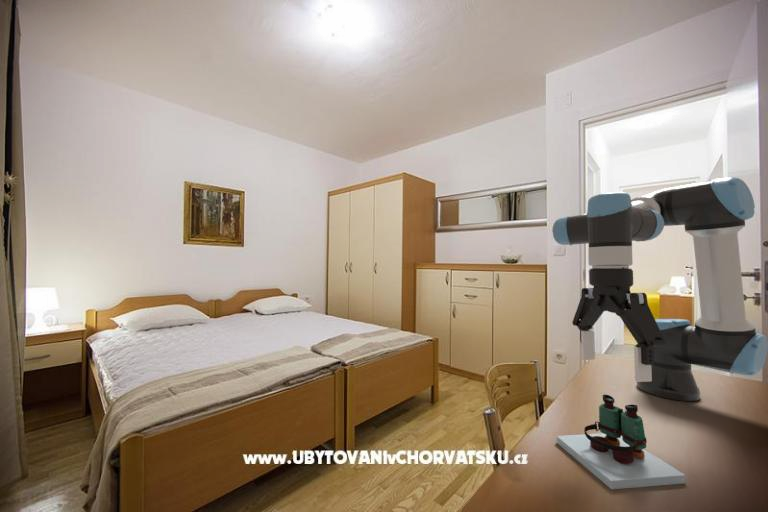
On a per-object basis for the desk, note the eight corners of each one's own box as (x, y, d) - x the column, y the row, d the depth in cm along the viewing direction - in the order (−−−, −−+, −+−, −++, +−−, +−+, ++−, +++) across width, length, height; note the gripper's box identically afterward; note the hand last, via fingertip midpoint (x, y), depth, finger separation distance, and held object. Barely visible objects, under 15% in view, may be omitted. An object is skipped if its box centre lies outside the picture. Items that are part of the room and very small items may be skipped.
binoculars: (574, 401, 67) (604, 389, 71) (579, 450, 67) (608, 436, 71) (620, 420, 59) (651, 406, 62) (625, 476, 59) (656, 458, 63)
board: (616, 438, 73) (616, 432, 73) (685, 483, 58) (685, 475, 58) (556, 442, 71) (556, 436, 71) (611, 489, 56) (611, 480, 56)
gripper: (689, 267, 54) (694, 392, 53) (582, 266, 79) (584, 351, 78) (650, 268, 53) (654, 394, 52) (554, 267, 78) (556, 352, 77)
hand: (613, 369), depth 65 cm, fingers open, 13 cm apart
